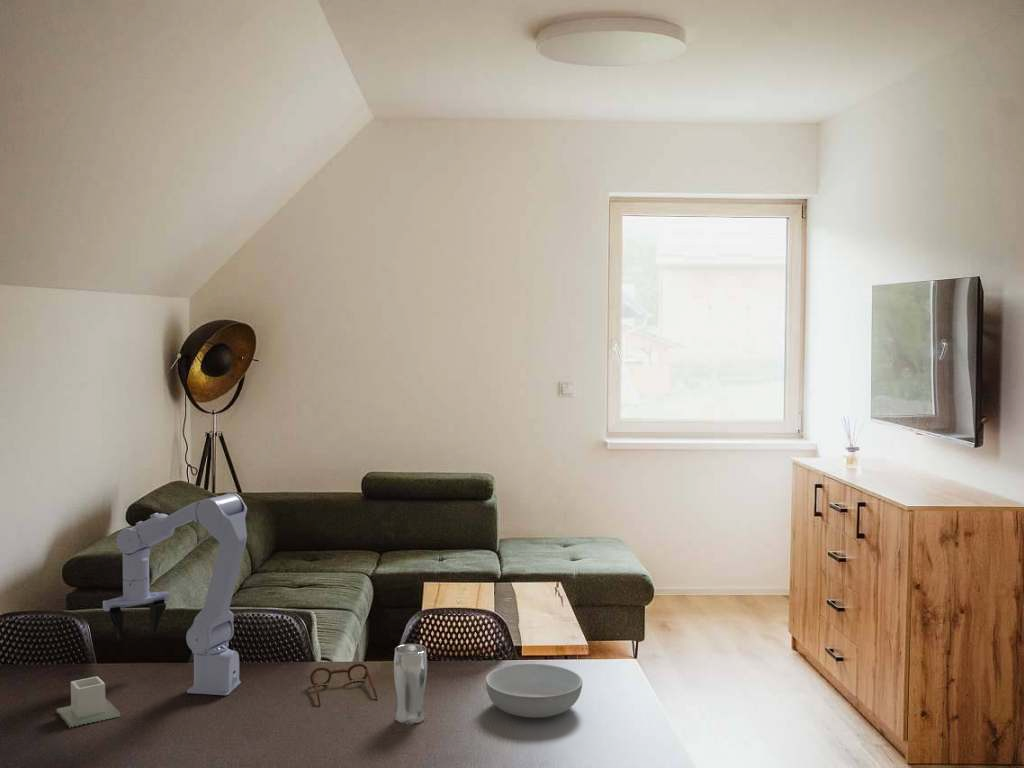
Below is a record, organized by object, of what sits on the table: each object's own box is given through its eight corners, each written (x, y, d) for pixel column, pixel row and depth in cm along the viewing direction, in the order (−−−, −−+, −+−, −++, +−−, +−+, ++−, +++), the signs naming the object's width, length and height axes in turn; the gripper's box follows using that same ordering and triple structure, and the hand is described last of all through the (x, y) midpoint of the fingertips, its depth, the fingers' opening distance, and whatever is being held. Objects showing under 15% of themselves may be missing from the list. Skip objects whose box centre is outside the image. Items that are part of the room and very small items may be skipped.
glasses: (367, 682, 234) (367, 661, 234) (378, 702, 222) (378, 680, 222) (310, 688, 230) (309, 667, 230) (318, 709, 218) (318, 687, 217)
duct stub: (105, 701, 219) (105, 682, 219) (120, 716, 212) (120, 696, 211) (56, 712, 213) (56, 692, 213) (69, 728, 205) (69, 707, 205)
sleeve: (105, 711, 212) (105, 683, 212) (78, 717, 209) (77, 689, 208) (97, 703, 216) (97, 676, 216) (71, 709, 213) (70, 681, 212)
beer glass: (421, 727, 208) (421, 655, 207) (389, 723, 209) (389, 652, 208) (430, 714, 215) (431, 644, 214) (399, 711, 216) (399, 642, 215)
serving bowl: (601, 709, 219) (602, 678, 218) (537, 738, 203) (537, 705, 203) (530, 685, 233) (530, 655, 232) (464, 710, 218) (465, 678, 217)
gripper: (161, 570, 241) (162, 626, 242) (98, 579, 232) (99, 637, 233) (172, 576, 236) (172, 633, 237) (107, 585, 227) (108, 645, 228)
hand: (136, 636), depth 235 cm, fingers open, 7 cm apart
